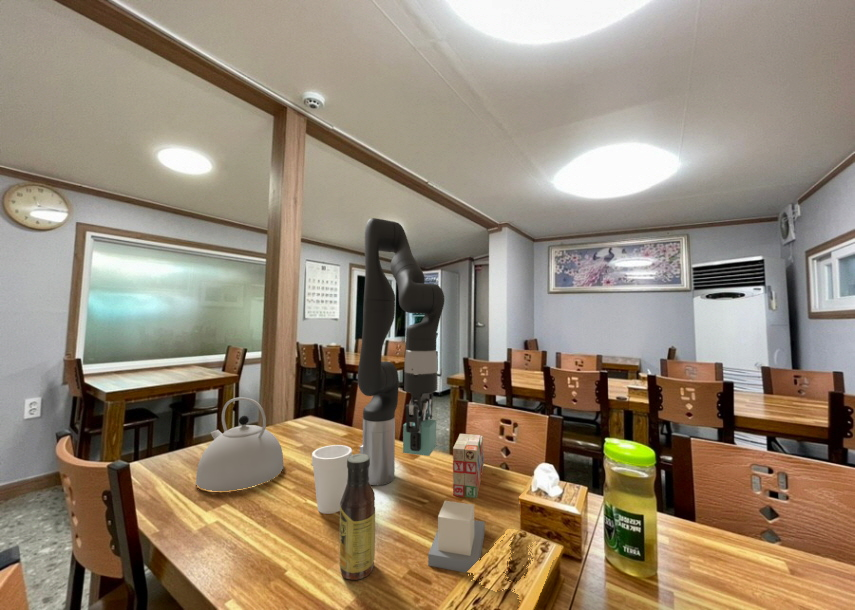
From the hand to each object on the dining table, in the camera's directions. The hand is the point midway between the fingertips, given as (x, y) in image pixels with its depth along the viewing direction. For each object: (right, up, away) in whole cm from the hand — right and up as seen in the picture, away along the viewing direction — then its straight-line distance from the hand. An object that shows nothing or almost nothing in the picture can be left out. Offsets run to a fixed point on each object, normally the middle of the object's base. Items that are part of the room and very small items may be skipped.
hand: (419, 444), depth 76 cm
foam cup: (-22, -18, +6) cm, 28 cm away
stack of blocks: (+14, -19, +21) cm, 31 cm away
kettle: (-55, -19, +24) cm, 63 cm away
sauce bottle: (-11, -16, -16) cm, 25 cm away
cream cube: (+7, -14, -11) cm, 20 cm away
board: (+8, -16, -9) cm, 20 cm away
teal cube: (0, -1, 0) cm, 1 cm away
